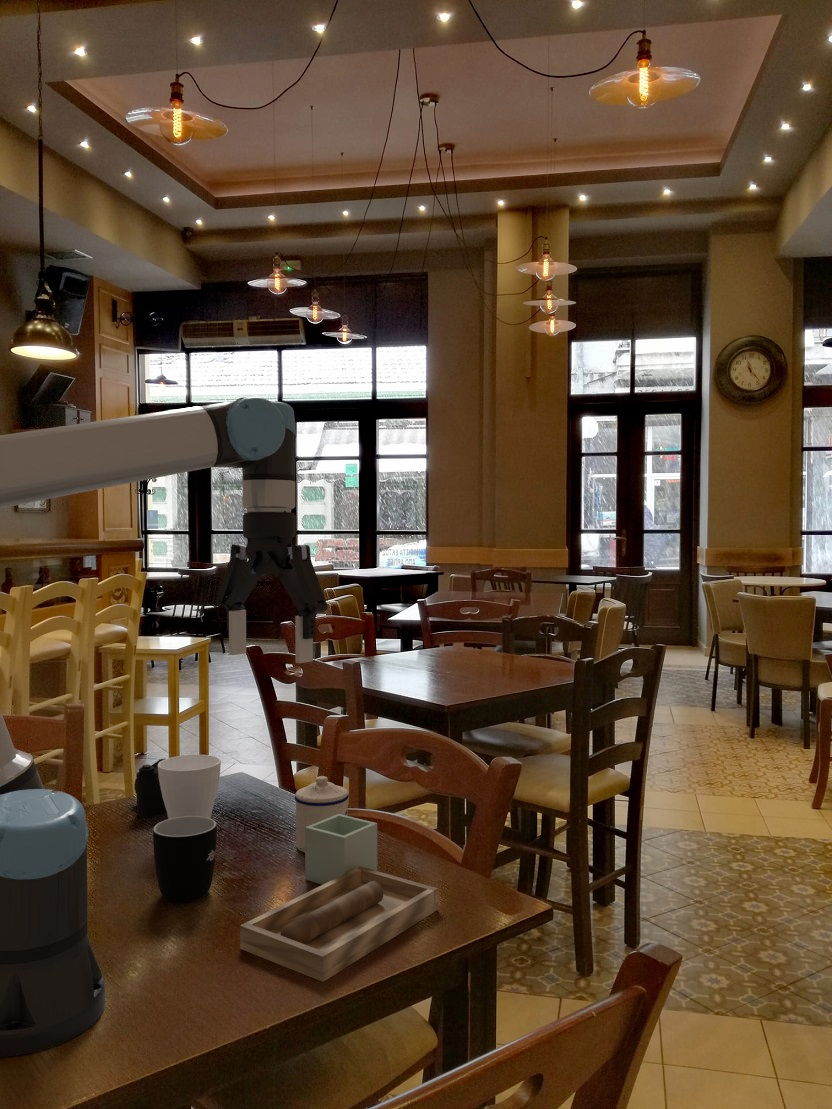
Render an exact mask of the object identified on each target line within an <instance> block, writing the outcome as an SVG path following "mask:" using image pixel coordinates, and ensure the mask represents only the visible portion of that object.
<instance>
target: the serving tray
mask: <svg viewBox="0 0 832 1109" xmlns="http://www.w3.org/2000/svg"><path fill="white" fill-rule="evenodd" d="M371 881H376V882H377V883H379V884H380V886H381V887H382V890H383V899H382V901H381V902H379V903H377V904H375V905H374V906H372V907H370V908H368V909H366V910H365V911H363V912H361V913H359V914H357V915H355V916H354V917H352V918H350V919H348V920H346V921H345V922H343V923H341V924H339V925H337V926H336V927H334V928H332V929H330V930H328V931H327V932H325V933H323V934H321V935H319V936H318V937H316V938H314V939H312V940H310V941H309V942H307V943H305V944H302V943H299V942H297V941H294V940H291V939H289V938H286V937H283V936H281V929H282V928H283V927H284V926H285V925H287V924H289V923H291V922H293V921H295V920H297V919H299V918H301V917H303V916H305V915H307V914H309V913H310V912H312V911H314V910H316V909H318V908H320V907H322V906H324V905H326V904H328V903H330V902H332V901H334V900H336V899H338V898H340V897H341V896H343V895H345V894H347V893H349V892H351V891H353V890H355V889H357V888H359V887H361V886H363V885H365V884H367V883H369V882H371ZM438 889H439V888H438V887H434V886H430V885H428V884H424V883H419V882H417V881H413V880H409V879H405V878H403V877H399V876H395V875H392V874H389V873H385V872H381V871H379V870H377V871H375V870H372V869H368V868H365V867H361V866H360V867H358V868H356V869H354V870H352V871H349V872H347V873H345V874H343V875H341V876H339V877H337V878H335V879H333V880H331V881H329V882H327V883H325V884H323V885H322V884H320V886H317V887H315V888H313V889H311V890H309V891H307V892H305V893H303V894H300V895H299V896H297V897H295V898H293V899H291V900H288V901H287V902H285V903H283V904H280V905H278V906H276V907H275V908H272V909H270V910H269V911H266V912H264V913H262V914H260V915H258V916H257V917H255V918H253V919H251V920H248V921H246V922H244V923H242V924H240V925H239V937H240V938H239V941H240V942H239V943H240V944H239V945H240V947H239V948H240V949H241V950H242V951H245V952H247V953H249V954H252V955H255V956H258V957H260V958H262V959H265V960H267V961H270V962H272V963H274V964H277V965H280V966H282V967H284V968H287V969H290V970H293V971H295V972H298V973H299V974H302V975H305V976H308V977H310V978H312V979H314V980H316V981H320V982H322V983H323V982H326V980H329V979H330V978H332V977H333V976H335V975H336V974H338V973H339V972H341V971H343V970H344V969H346V968H347V967H349V966H351V965H352V964H353V963H355V962H357V961H358V960H361V959H362V958H363V957H365V956H366V955H369V954H370V953H371V952H373V951H375V950H376V949H378V948H379V947H381V946H382V945H384V944H385V943H387V942H389V941H390V940H392V939H393V938H395V937H397V936H399V935H400V934H402V933H403V932H405V931H406V930H407V929H410V928H411V927H413V926H414V925H416V924H417V923H419V922H421V921H422V920H424V919H425V918H427V917H428V916H430V915H432V914H433V913H435V912H436V911H438V910H439V890H438Z"/></svg>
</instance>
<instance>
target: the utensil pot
mask: <svg viewBox="0 0 832 1109" xmlns="http://www.w3.org/2000/svg"><path fill="white" fill-rule="evenodd" d="M304 854H305V855H304V857H305V858H304V859H305V860H304V863H305V864H304V868H305V873H304V874H305V877H304V878H305V880H306V881H310V882H313V883H316V884H319V885H323V884H325V883H327V882H329V881H331V880H333V879H335V878H337V877H339V876H341V875H343V874H345V873H347V872H349V871H352V870H354V869H356V868H358V867H360V866H361V867H365V868H368V869H372V870H375V871H378V822H374V821H369V820H365V819H361V818H356V817H353V816H349V815H348V816H346V815H342V814H337V815H334V816H332V817H329V818H327V819H325V820H322V821H320V822H317V823H315V824H312V825H310V826H307V827H305V853H304Z"/></svg>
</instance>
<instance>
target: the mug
mask: <svg viewBox="0 0 832 1109" xmlns="http://www.w3.org/2000/svg"><path fill="white" fill-rule="evenodd" d="M217 826H218V825H217V822H216V820H214V819H212V818H211V819H210V818H207V817H201V816H184V817H176V818H172V819H165V820H163V821H160V822H158V823H157V824H155V826H154V827H153V830H152V844H153V855H154V866H155V867H154V868H155V873H156V874H155V875H156V881H157V884H158V888H159V891H160V894H161V896H162V898H163V899H164V900H165V901H167V902H170V903H175V904H186V903H187V904H188V903H193V902H196V901H199V900H201V899H203V898H204V897H206V896H207V895H208V893H209V891H210V890H211V885H212V883H213V877H214V871H215V864H216V853H217V839H218V838H217V836H218V833H217V832H218V831H217V830H218V828H217Z"/></svg>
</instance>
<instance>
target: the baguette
mask: <svg viewBox="0 0 832 1109" xmlns="http://www.w3.org/2000/svg"><path fill="white" fill-rule="evenodd" d="M382 899H383V890H382V887H381V886H380V884H379V883H377V882H376V881H371V882H369V883H367V884H365V885H363V886H361V887H359V888H357V889H355V890H353V891H351V892H349V893H347V894H345V895H343V896H341V897H340V898H338V899H336V900H334V901H332V902H330V903H328V904H326V905H324V906H322V907H320V908H318V909H316V910H314V911H312V912H310V913H309V914H307V915H305V916H303V917H301V918H299V919H297V920H295V921H293V922H291V923H289V924H287V925H285V926H284V927H283V928H282V929H281V936H283V937H286V938H289V939H291V940H294V941H297V942H299V943H302V944H305V943H307V942H309V941H310V940H312V939H314V938H316V937H318V936H319V935H321V934H323V933H325V932H327V931H328V930H330V929H332V928H334V927H336V926H337V925H339V924H341V923H343V922H345V921H346V920H348V919H350V918H352V917H354V916H355V915H357V914H359V913H361V912H363V911H365V910H366V909H368V908H370V907H372V906H374V905H375V904H377V903H379V902H381V901H382Z"/></svg>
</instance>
